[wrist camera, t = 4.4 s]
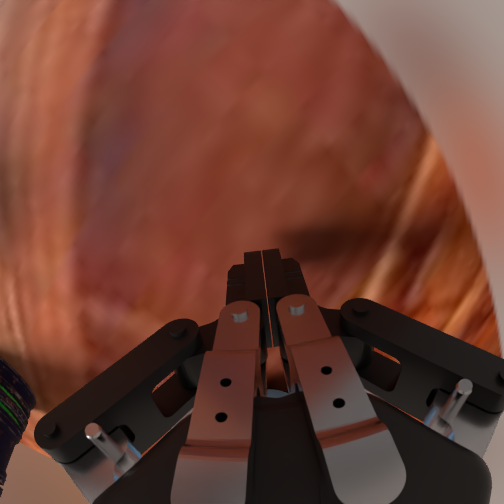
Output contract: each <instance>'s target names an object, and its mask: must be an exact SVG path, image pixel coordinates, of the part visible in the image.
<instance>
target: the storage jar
mask: <svg viewBox="0 0 504 504" xmlns="http://www.w3.org/2000/svg"><path fill="white" fill-rule="evenodd" d="M35 403H36V400H35V397H34V394H33V392H32V391H31V389H30V388H29V386H28V385H27V384H26V382H25V381H24V380H23V379H22V378H21V377H20V375H19V374H18V373H17V372H16V371H15V370H14V369H13V368H12V367H11V366H10V365H8V364H7V363H6V362H5V361H4V360H3V359H2V358H0V485H4V482H5V481H6V476H7V474H6V468H7V465H8V463H9V460H10V457H11V454H12V452H13V449H14V447H15V445H16V444H18V443H19V442H20V439H22V434H23V432H24V431H25V429H26V427H27V424H28V419H29V417H30V411H31V410H32V409H33V408H34V406H35ZM2 491H3V489H2V488H1V487H0V497H1V494H2Z"/></svg>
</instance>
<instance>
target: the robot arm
mask: <svg viewBox="0 0 504 504" xmlns="http://www.w3.org/2000/svg"><path fill="white" fill-rule="evenodd" d="M262 254H263V262H264V271H265V280H266V288H267V297H268V304H269V312H270V320H271V328H272V336H273V344H274V347H276V346H279V348H280V356H281V364H282V368H283V372H284V377H285V381H286V385H287V389H288V393H289V395H286V396H283V397H280V398H272V397H267V360H266V359H267V355H268V354H267V348H269V347H272V342H271V333H270V324H269V315H268V306H267V297H266V289H265V281H264V273H263V265H262V257H261V251H253V252H245V253H244V264H239V265H233V266H232V267H231V269H230V270H229V271H228V281H227V295H226V306H225V307H224V308H223V309H222V310H221V312H220V315H219V319H217V320H216V321H214V322H212V323H209V324H207V325H203V326H200V327H198V324H197V323H196V322H195V321H193V320H190V319H177V320H174V321H171V322H169V323H167V324H166V325H165V326H163V327H162V328H161V329H159V330H158V331H157V332H155V333H154V334H153V335H151V336H150V337H149V338H147V339H146V340H145V341H143V342H142V343H141V344H139V345H138V346H137V347H136V348H134V349H133V350H132V351H130V352H129V353H128V354H126V355H125V356H124V357H122V358H121V359H120V360H118V361H117V362H116V363H114V364H113V365H112V366H110V367H109V368H108V369H106V370H105V371H104V372H102V373H101V374H100V375H98V376H97V377H96V378H94V379H93V380H92V381H90V382H89V383H88V384H86V385H85V386H84V387H82V388H81V389H80V390H78V391H77V392H76V393H74V394H73V395H72V396H70V397H69V398H68V399H66V400H65V401H64V402H62V403H61V404H60V405H58V406H57V407H56V408H54V409H53V410H51V411H50V412H49V413H47V414H46V415H45V416H43V417H42V418H41V419H40V420H39V421H38V423H37V425H36V427H35V430H34V438H35V441H36V443H37V444H38V445H39V446H40V447H41V448H42V449H43V450H44V451H45V452H47V453H48V454H49V455H50V456H51V457H52V458H53V459H54V460H55V461H56V462H57V463H58V464H60V465H61V466H62V467H64V469H65V470H66V472H67V473H68V475H69V476H70V477H71V479H72V480H73V482H74V483H75V484H76V486H77V487H78V489H79V490H80V491H81V493H82V494H83V495H84V497H85V498H86V499H87V500H88V502H89V503H90V504H489V502H490V496H491V489H492V480H491V474H490V471H489V468H488V466H487V465H486V463H485V462H484V460H483V459H482V458H483V456H484V454H485V452H486V449H487V447H488V445H489V443H490V440H491V438H492V436H493V433H494V431H495V428H496V426H497V423H498V421H499V418H500V416H501V415H502V413H503V412H504V359H502V358H500V357H498V356H496V355H493V354H491V353H489V352H487V351H484V350H482V349H480V348H478V347H475V346H473V345H471V344H469V343H466V342H464V341H462V340H460V339H457V338H455V337H453V336H451V335H448V334H446V333H444V332H442V331H439V330H437V329H435V328H433V327H430V326H428V325H426V324H424V323H421V322H419V321H417V320H415V319H412V318H410V317H408V316H405V315H403V314H401V313H399V312H396V311H394V310H392V309H390V308H387V307H385V306H383V305H381V304H378V303H376V302H374V301H371V300H369V299H364V298H355V299H351V300H348V301H346V302H345V303H344V304H343V305H342V306H341V309H340V310H337V309H327V308H323V307H320V306H318V305H317V304H316V302H315V300H314V299H313V298H311V297H310V295H309V292H308V289H307V286H306V283H305V280H304V277H303V274H302V272H301V268H300V265H299V263H298V262H297V261H295V260H294V259H293V258H288V259H281V256H280V252H279V248H278V249H269V250H262ZM374 347H375V348H377V349H379V350H381V351H383V352H385V353H387V354H389V355H391V356H393V357H394V358H396V359H397V360H398V361H399V362H400V364H401V365H400V364H398V363H396V362H395V361H393V360H391V359H389V358H387V357H385V356H383V355H381V354H379V353H377V352H375V351H374ZM173 371H174V372H175V374H174V375H173V376H172V377H170V378H169V379H168V380H167V381H166V382H165V383H163V384H162V385H161V386H160V387H159V388H157V389H156V390H155V391H154V392H153V393H152V391H153V389H154V387H155V386H156V385H157V384H158V383H160V382H161V381H162V380H163V379H164V378H166V377H167V376H168V375H169V374H170V373H171V372H173ZM365 389H366V390H367V391H369V392H371V393H373V394H374V395H373V394H370V393H366V391H365ZM375 395H376V396H375ZM377 396H378V397H377ZM379 397H380V398H379ZM384 400H385V401H384ZM386 401H387V402H386ZM389 403H390V404H389ZM391 404H392V405H394V406H395V407H394V406H392V405H391ZM396 407H397V408H399V409H401V410H403V411H404V412H406V413H408V414H410V415H412V416H414V417H415V418H417V419H419V420H421V421H423V422H424V424H423V423H421V422H419V421H418V420H416V419H414V418H412V417H411V416H409V415H407V414H406V413H404V412H402V411H401V410H399V409H397V408H396ZM192 408H193V411H192V413H191V414H189V415H188V416H186V417H185V418H183V417H184V416H185V415H186V414H187V413H188V412H189V411H190V410H191V409H192ZM182 418H183V419H182ZM181 419H182V420H181ZM180 420H181V421H180ZM178 421H180V422H178ZM177 422H178V423H177ZM176 423H177V424H176ZM175 424H176V425H175ZM174 425H175V426H174ZM173 426H174V427H173ZM172 427H173V428H172ZM171 428H172V429H171ZM170 429H171V430H170ZM169 430H170V431H169ZM167 431H169V432H168V433H167V434H166V435H165V436H164V437H163V438H162V439H161V440H160V441H159V442H158V443H157V444H156V445H155V446H154V447H152V448H151V449H150V450H149V451H148V452H147V453H146V454H145V455H144V456H143V457H142V458H141V454H143V453H144V452H145V451H146V450H147V449H148V448H149V447H151V446H152V445H153V444H154V443H155V442H156V441H157V440H159V439H160V438H161V437H162V436H163V435H164V434H165V433H166V432H167Z"/></svg>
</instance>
